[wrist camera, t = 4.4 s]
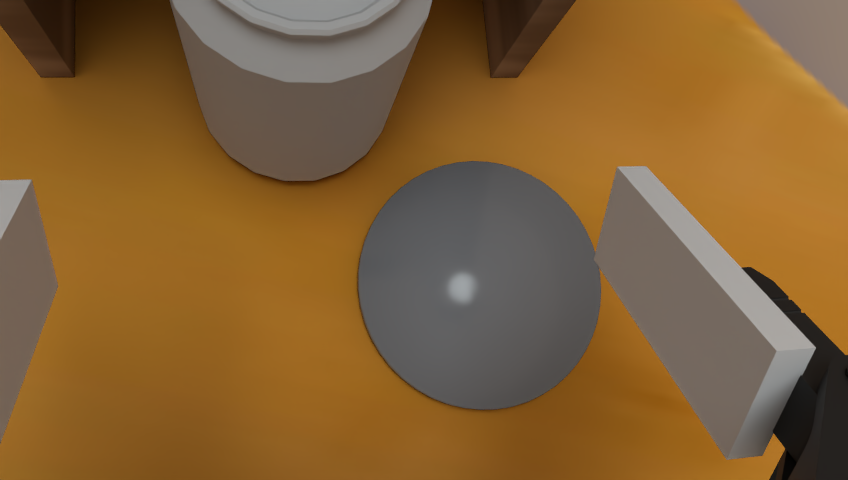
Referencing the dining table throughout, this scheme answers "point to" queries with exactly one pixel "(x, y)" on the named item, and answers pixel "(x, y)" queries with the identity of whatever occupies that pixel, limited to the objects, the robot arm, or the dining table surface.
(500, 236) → the coaster
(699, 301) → the robot arm
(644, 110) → the dining table surface
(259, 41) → the can
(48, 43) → the wooden box
